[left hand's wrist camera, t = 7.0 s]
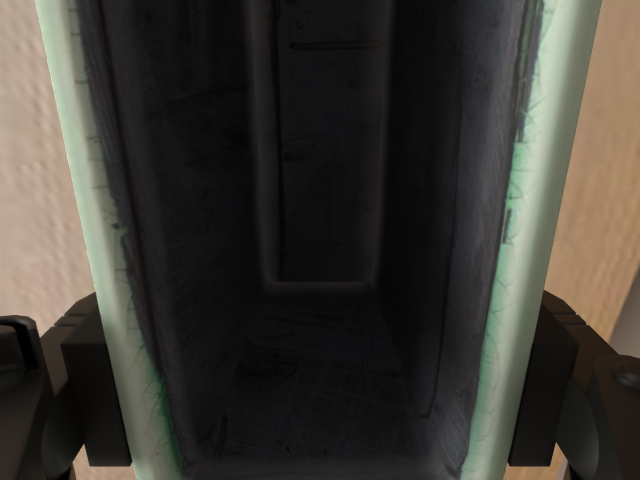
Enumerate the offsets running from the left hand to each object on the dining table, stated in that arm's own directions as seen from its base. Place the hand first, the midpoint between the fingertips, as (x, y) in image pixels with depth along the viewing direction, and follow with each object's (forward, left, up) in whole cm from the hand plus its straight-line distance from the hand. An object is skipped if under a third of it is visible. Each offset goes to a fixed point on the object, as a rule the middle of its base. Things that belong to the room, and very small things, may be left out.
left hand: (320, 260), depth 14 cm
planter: (+10, +3, -1) cm, 11 cm away
